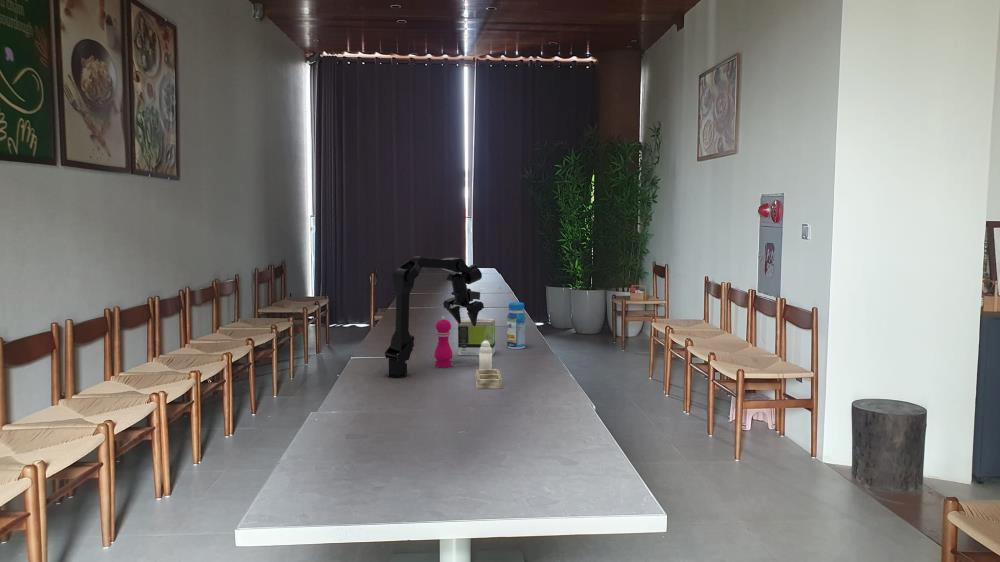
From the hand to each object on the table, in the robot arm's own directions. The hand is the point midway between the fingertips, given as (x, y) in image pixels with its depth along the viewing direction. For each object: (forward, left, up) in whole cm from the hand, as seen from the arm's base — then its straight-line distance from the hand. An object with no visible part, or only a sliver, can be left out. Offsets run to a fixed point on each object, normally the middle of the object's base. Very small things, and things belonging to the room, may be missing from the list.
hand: (467, 324), depth 303 cm
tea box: (+5, +17, -16) cm, 24 cm away
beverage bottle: (+23, +30, -16) cm, 41 cm away
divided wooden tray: (+7, -34, -15) cm, 38 cm away
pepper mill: (-9, -6, -16) cm, 19 cm away
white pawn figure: (+7, -21, -15) cm, 27 cm away
